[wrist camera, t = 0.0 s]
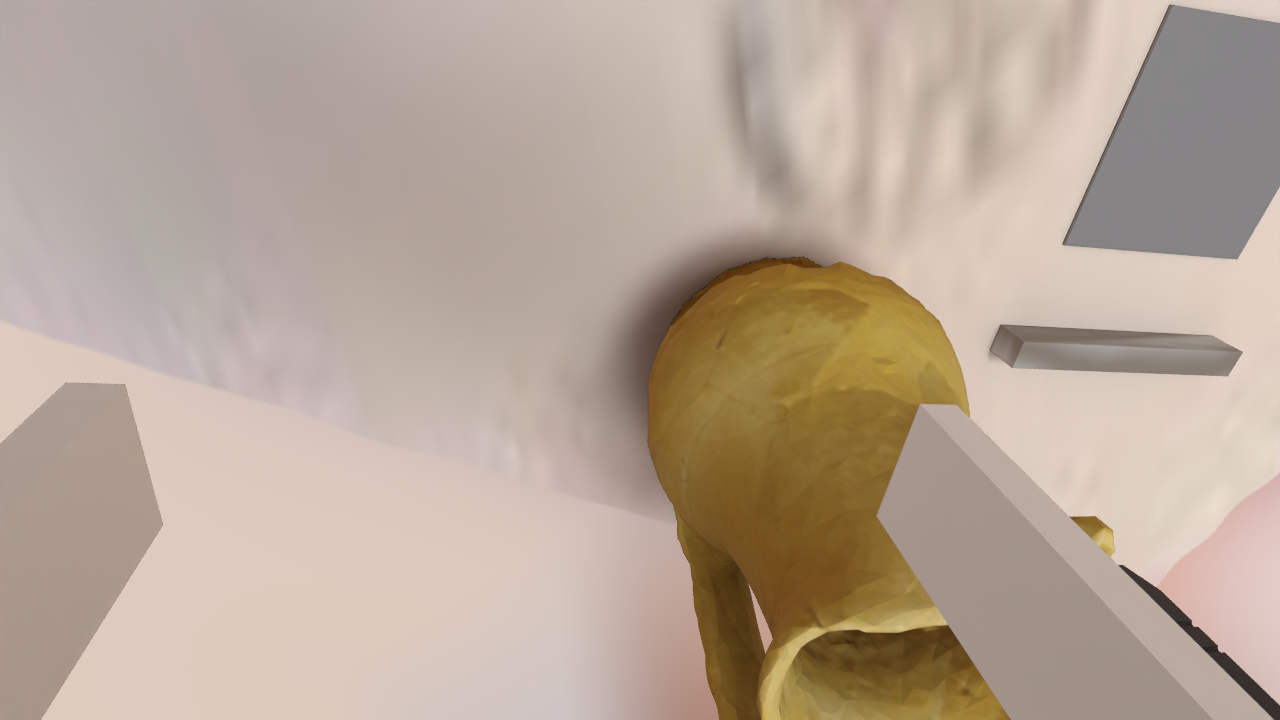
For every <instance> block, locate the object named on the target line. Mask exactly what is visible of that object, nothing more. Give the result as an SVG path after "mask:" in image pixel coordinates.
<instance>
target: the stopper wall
mask: <svg viewBox="0 0 1280 720" xmlns="http://www.w3.org/2000/svg"><path fill="white" fill-rule="evenodd" d="M990 350H991V351H992V352H993V353H994V354H995V355H997V356H998V357H999V358H1000V359H1002V360H1003V361H1004V362H1005V363H1007V364H1008V365H1009V366H1010V367H1012V368H1023V369H1049V370H1076V371H1102V372H1128V373H1155V374H1181V375H1208V376H1228V375H1229V373H1230V372H1231V370H1232V369H1233V367H1234V366H1235V364H1236V362H1237V361H1238V359H1239V358H1240V356H1241V354H1242V353H1243V352H1242V351H1240V350H1238V349H1236V348H1234V347H1232V346H1230V345H1228V344H1227V343H1225V342H1223V341H1221V340H1219V339H1217V338H1215V337H1213V336H1205V335H1186V334H1167V333H1148V332H1129V331H1110V330H1091V329H1071V328H1052V327H1033V326H1014V325H1001V326H1000V328H999V331H998V333H997V335H996V338H995V340H994V342H993V345H992V347H991V349H990Z"/></svg>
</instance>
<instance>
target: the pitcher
mask: <svg viewBox="0 0 1280 720" xmlns="http://www.w3.org/2000/svg"><path fill="white" fill-rule="evenodd" d="M671 325H672V326H671V327H670V328H669V329H668V332H667V334H666V336H665V338H664V339H663V341H662V343H661V345H660V348H659V350H658V353H657V355H656V358H655V361H654V365H653V368H652V371H651V373H650V376H649V387H648V447H649V451H650V454H651V457H652V460H653V463H654V466H655V469H656V472H657V475H658V478H659V480H660V483H661V485H662V487H663V488H664V490H665V492H666V494H667V496H668V498H669V500H670V501H671V502H672V504H673V506H674V511H675V515H676V519H677V536H678V540H679V541H680V543H681V547H682V550H683V553H684V554H685V556H686V558H687V560H688V562H689V563H690V567H691V575H692V581H693V596H694V608H695V612H696V615H697V618H698V626H699V631H700V635H701V639H702V644H703V648H704V651H705V657H706V658H705V659H706V662H705V663H706V673H707V679H708V683H709V687H710V690H711V692H712V695H713V697H714V700H715V702H716V705H717V708H718V714H719V720H1011V719H1010V718H1009V716H1008V715H1007V713H1006V712H1005V710H1004V709H1003V707H1002V706H1001V704H1000V703H999V701H998V700H997V698H996V697H995V695H994V693H993V692H992V690H991V689H990V687H989V686H988V684H987V683H986V681H985V680H984V678H983V677H982V675H981V674H980V672H979V671H978V669H977V668H976V666H975V665H974V663H973V662H972V660H971V659H970V657H969V656H968V654H967V653H966V651H965V650H964V648H963V646H962V645H961V643H960V642H959V640H958V639H957V637H956V636H955V634H954V633H953V631H952V630H951V628H950V627H949V625H948V624H947V622H946V621H945V619H944V618H943V616H942V615H941V613H940V612H939V610H938V609H937V607H936V606H935V604H934V603H933V601H932V600H931V598H930V596H929V595H928V593H927V592H926V590H925V589H924V587H923V586H922V584H921V583H920V581H919V580H918V578H917V577H916V575H915V574H914V572H913V571H912V569H911V568H910V566H909V565H908V563H907V562H906V560H905V559H904V557H903V556H902V554H901V553H900V551H899V549H898V548H897V546H896V545H895V543H894V542H893V540H892V539H891V537H890V536H889V534H888V533H887V531H886V530H885V528H884V527H883V525H882V524H881V522H880V521H879V519H878V518H877V513H878V511H879V508H880V506H881V503H882V501H883V498H884V495H885V493H886V490H887V488H888V485H889V483H890V480H891V477H892V475H893V472H894V470H895V467H896V465H897V462H898V459H899V457H900V454H901V452H902V449H903V447H904V444H905V441H906V439H907V436H908V434H909V431H910V429H911V426H912V423H913V421H914V418H915V416H916V413H917V411H918V408H919V405H920V404H942V405H957V406H958V407H959V408H960V409H961V410H962V411H963V412H964V413H965V414H966V415H967V416H968V417H969V418H970V413H969V404H968V398H967V393H966V387H965V383H964V378H963V374H962V370H961V367H960V364H959V362H958V359H957V357H956V354H955V352H954V350H953V347H952V344H951V343H950V341H949V339H948V338H947V336H946V334H945V332H944V330H943V327H942V325H941V323H940V321H939V320H938V319H937V318H936V317H935V316H934V315H932V314H931V313H930V312H929V311H927V310H926V309H925V308H924V306H923V305H922V304H921V303H920V301H918V300H917V299H915V298H914V297H912V296H910V295H909V294H908V293H907V292H906V291H905V290H904V289H902V288H901V287H899V286H898V285H896V284H895V283H894V282H893V281H892V280H890V279H887V278H885V277H879V276H873V275H871V274H869V273H867V272H864V271H862V270H860V269H858V268H856V267H853V266H851V265H848V264H845V263H843V262H838V263H836V264H834V265H832V266H829V267H825V268H823V267H821V266H820V265H817V264H815V263H814V261H810V260H809V259H808V258H804V256H803V257H802V258H800V257H798V258H796V257H792V258H789V259H788V260H787V259H786V258H783V259H775V258H773V259H769V258H767V257H766V260H765V259H763V258H762V261H755V262H753V263H752V262H750V263H749V265H748V264H745V265H743V266H742V267H740V268H739V267H736V268H731V269H728V270H726V271H725V272H723V273H722V275H720V276H718V278H715V279H714V280H713V281H712V282H711V283H710V284H709V285H708V286H707V287H704V289H703V290H699V292H697V293H696V294H694V295H693V299H692V300H690V301H687V302H685V303H684V304H683V309H682V310H680V312H679V315H677V316H676V318H674V321H673V322H672V323H671ZM1070 518H1071V519H1072V520H1073V521H1074V522H1075V523H1076V524H1077V525H1078V526H1079V527H1080V528H1081V529H1082V530H1083V531H1084V532H1085V533H1086V534H1087V535H1088V536H1089V537H1090V538H1091V539H1092V540H1093V541H1094V542H1095V543H1096V544H1097V545H1098V546H1099V547H1100V548H1101V549H1102V550H1103V551H1104V552H1105V553H1106V554H1107V555H1108V556H1109V557H1111V555H1112V554H1113V553H1114V551H1115V548H1114V537H1113V530H1112V529H1110V528H1109V527H1108V526H1107V525H1106V524H1104V523H1103V522H1102V521H1101V520H1099V519H1098V518H1097V517H1096V516H1089V517H1070ZM748 583H749V585H750V587H751V589H752V591H753V593H754V594H755V597H756V599H757V601H758V604H759V606H760V608H761V610H762V613H763V614H764V617H765V619H766V622H767V624H768V627H769V629H770V631H771V634H772V638H773V640H772V642H771V644H770V646H769V648H768V650H767V652H766V654H765V651H764V647H763V643H762V640H761V636H760V632H759V629H758V624H757V620H756V615H755V610H754V606H753V601H752V597H751V592H750V588H749V585H748Z"/></svg>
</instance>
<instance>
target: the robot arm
mask: <svg viewBox="0 0 1280 720" xmlns="http://www.w3.org/2000/svg"><path fill="white" fill-rule="evenodd" d="M877 518H878V519H879V521H880V522H881V524H882V525H883V527H884V528H885V530H886V531H887V533H888V534H889V536H890V537H891V539H892V540H893V542H894V543H895V545H896V546H897V548H898V549H899V551H900V553H901V554H902V556H903V557H904V559H905V560H906V562H907V563H908V565H909V566H910V568H911V569H912V571H913V572H914V574H915V575H916V577H917V578H918V580H919V581H920V583H921V584H922V586H923V587H924V589H925V590H926V592H927V593H928V595H929V596H930V598H931V600H932V601H933V603H934V604H935V606H936V607H937V609H938V610H939V612H940V613H941V615H942V616H943V618H944V619H945V621H946V622H947V624H948V625H949V627H950V628H951V630H952V631H953V633H954V634H955V636H956V637H957V639H958V640H959V642H960V643H961V645H962V646H963V648H964V650H965V651H966V653H967V654H968V656H969V657H970V659H971V660H972V662H973V663H974V665H975V666H976V668H977V669H978V671H979V672H980V674H981V675H982V677H983V678H984V680H985V681H986V683H987V684H988V686H989V687H990V689H991V690H992V692H993V693H994V695H995V697H996V698H997V700H998V701H999V703H1000V704H1001V706H1002V707H1003V709H1004V710H1005V712H1006V713H1007V715H1008V716H1009V718H1010V719H1011V720H1280V705H1279V704H1278V703H1276V701H1274V700H1273V699H1272V698H1271V697H1270V696H1269V695H1268V694H1267V693H1266V692H1265V691H1264V690H1263V689H1262V688H1261V687H1260V686H1259V685H1258V684H1257V683H1256V682H1255V681H1254V680H1253V679H1252V678H1251V677H1250V676H1249V675H1248V674H1246V673H1245V672H1244V671H1243V670H1242V669H1241V668H1240V667H1239V666H1238V665H1237V664H1236V663H1235V662H1234V661H1233V660H1232V659H1231V658H1230V657H1229V656H1228V655H1227V654H1226V653H1221V652H1219V651H1218V645H1216V644H1215V643H1214V642H1213V641H1212V640H1211V639H1210V638H1209V637H1208V636H1207V635H1206V634H1205V633H1204V632H1203V631H1202V630H1201V629H1200V628H1199V627H1193V625H1192V621H1191V619H1189V618H1188V617H1187V616H1186V615H1185V614H1184V613H1183V612H1182V611H1181V610H1180V609H1179V608H1178V607H1177V606H1176V605H1175V604H1174V603H1173V602H1172V601H1171V600H1170V599H1169V598H1168V597H1167V596H1166V595H1165V594H1164V593H1163V592H1162V591H1160V590H1159V589H1158V588H1156V587H1155V586H1153V585H1152V584H1150V583H1149V582H1147V581H1146V580H1144V579H1143V578H1141V577H1140V576H1138V575H1137V574H1135V573H1134V572H1132V571H1131V570H1129V569H1128V568H1126V567H1125V566H1123V565H1117V564H1116V563H1115V562H1114V561H1113V560H1112V559H1111V558H1110V557H1109V556H1108V555H1107V554H1106V553H1105V552H1104V551H1103V550H1102V549H1101V548H1100V547H1099V546H1098V545H1097V544H1096V543H1095V542H1094V541H1093V540H1092V539H1091V538H1090V537H1089V536H1088V535H1087V534H1086V533H1085V532H1084V531H1083V530H1082V529H1081V528H1080V527H1079V526H1078V525H1077V524H1076V523H1075V522H1074V521H1073V520H1072V519H1071V518H1070V517H1069V516H1068V515H1067V514H1066V513H1065V512H1064V511H1063V510H1062V509H1061V508H1060V507H1059V506H1058V505H1057V504H1056V503H1055V502H1054V501H1053V500H1052V499H1051V498H1050V497H1049V496H1048V495H1047V494H1046V493H1045V492H1044V491H1043V490H1042V489H1041V488H1040V487H1039V486H1038V485H1037V484H1036V483H1035V482H1034V481H1033V480H1032V479H1031V478H1030V477H1029V476H1028V475H1027V474H1026V473H1025V472H1024V471H1023V470H1022V469H1021V468H1020V467H1019V466H1018V465H1017V464H1016V463H1015V462H1014V461H1012V460H1011V459H1010V458H1009V457H1008V456H1007V455H1006V454H1005V453H1004V452H1003V451H1002V450H1001V449H1000V448H999V447H998V446H997V445H996V444H995V443H994V442H993V441H992V440H991V439H990V438H989V437H988V436H987V435H986V434H985V433H984V432H983V431H982V430H981V429H980V428H979V427H978V426H977V425H976V424H975V423H974V422H973V421H972V420H971V419H970V418H969V417H968V416H967V415H966V414H965V413H964V412H963V411H962V410H961V409H960V408H959V407H958V406H957V405H942V404H920V405H919V408H918V411H917V413H916V416H915V418H914V421H913V423H912V426H911V429H910V431H909V434H908V436H907V439H906V441H905V444H904V447H903V449H902V452H901V454H900V457H899V459H898V462H897V465H896V467H895V470H894V472H893V475H892V477H891V480H890V483H889V485H888V488H887V490H886V493H885V495H884V498H883V501H882V503H881V506H880V508H879V511H878V513H877ZM162 526H163V523H162V519H161V515H160V511H159V508H158V504H157V500H156V497H155V493H154V489H153V486H152V482H151V478H150V474H149V471H148V467H147V464H146V460H145V456H144V452H143V449H142V445H141V441H140V437H139V434H138V430H137V426H136V423H135V419H134V416H133V411H132V408H131V405H130V400H129V397H128V393H127V389H126V386H125V384H97V383H96V384H94V383H65V384H64V385H63V386H62V387H61V388H60V389H58V390H57V391H56V392H55V393H54V394H53V395H52V396H51V397H50V398H49V399H48V400H47V401H46V402H45V403H43V404H42V405H41V406H40V407H39V408H38V409H37V410H36V411H35V412H34V413H33V414H32V415H31V416H29V417H28V418H27V419H26V420H25V421H24V422H23V423H22V424H21V425H20V426H19V427H18V428H17V429H15V430H14V431H13V432H12V433H11V434H10V435H9V436H8V437H7V438H6V439H5V440H4V441H3V442H2V443H1V444H0V720H41V719H42V717H43V716H44V714H45V713H46V711H47V709H48V708H49V706H50V705H51V703H52V701H53V700H54V698H55V696H56V695H57V693H58V692H59V690H60V689H61V687H62V685H63V684H64V682H65V680H66V679H67V677H68V675H69V674H70V673H71V671H72V669H73V668H74V666H75V665H76V663H77V661H78V660H79V658H80V657H81V655H82V653H83V652H84V650H85V648H86V647H87V645H88V644H89V642H90V640H91V639H92V637H93V636H94V634H95V633H96V631H97V629H98V628H99V626H100V625H101V623H102V622H103V620H104V618H105V617H106V615H107V613H108V612H109V610H110V609H111V607H112V605H113V604H114V602H115V601H116V599H117V597H118V596H119V594H120V593H121V591H122V589H123V588H124V586H125V585H126V583H127V582H128V580H129V578H130V576H131V575H132V574H133V572H134V570H135V569H136V567H137V565H138V564H139V562H140V561H141V559H142V558H143V556H144V554H145V553H146V551H147V550H148V548H149V546H150V545H151V543H152V541H153V540H154V538H155V537H156V535H157V534H158V532H159V530H160V529H161V527H162Z"/></svg>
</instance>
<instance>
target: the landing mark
mask: <svg viewBox="0 0 1280 720" xmlns="http://www.w3.org/2000/svg"><path fill="white" fill-rule="evenodd" d="M1279 187H1280V23H1275V22H1269V21H1263V20H1257V19H1251V18H1245V17H1240V16H1234V15H1228V14H1222V13H1216V12H1210V11H1205V10H1199V9H1193V8H1187V7H1181V6H1175V5H1170V6H1169V8H1168V11H1167V13H1166V15H1165V17H1164V20H1163V22H1162V24H1161V26H1160V29H1159V31H1158V33H1157V35H1156V37H1155V40H1154V42H1153V44H1152V46H1151V49H1150V51H1149V53H1148V55H1147V58H1146V60H1145V62H1144V64H1143V66H1142V69H1141V71H1140V73H1139V75H1138V78H1137V80H1136V82H1135V84H1134V87H1133V89H1132V91H1131V93H1130V95H1129V98H1128V100H1127V102H1126V104H1125V107H1124V109H1123V111H1122V113H1121V116H1120V118H1119V120H1118V122H1117V124H1116V127H1115V129H1114V131H1113V133H1112V136H1111V138H1110V140H1109V142H1108V145H1107V147H1106V149H1105V151H1104V153H1103V156H1102V158H1101V160H1100V162H1099V165H1098V167H1097V169H1096V171H1095V174H1094V176H1093V178H1092V180H1091V182H1090V185H1089V187H1088V189H1087V191H1086V194H1085V196H1084V198H1083V200H1082V203H1081V205H1080V207H1079V209H1078V211H1077V214H1076V216H1075V218H1074V220H1073V223H1072V225H1071V227H1070V229H1069V232H1068V234H1067V236H1066V238H1065V240H1064V243H1063V245H1068V246H1080V247H1092V248H1105V249H1117V250H1129V251H1142V252H1154V253H1166V254H1179V255H1191V256H1203V257H1215V258H1228V259H1238V257H1239V256H1240V254H1241V252H1242V250H1243V249H1244V247H1245V245H1246V244H1247V242H1248V240H1249V238H1250V237H1251V235H1252V233H1253V232H1254V230H1255V228H1256V226H1257V225H1258V223H1259V221H1260V220H1261V218H1262V216H1263V214H1264V213H1265V211H1266V209H1267V208H1268V206H1269V204H1270V202H1271V201H1272V199H1273V197H1274V196H1275V194H1276V192H1277V190H1278V189H1279Z"/></svg>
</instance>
